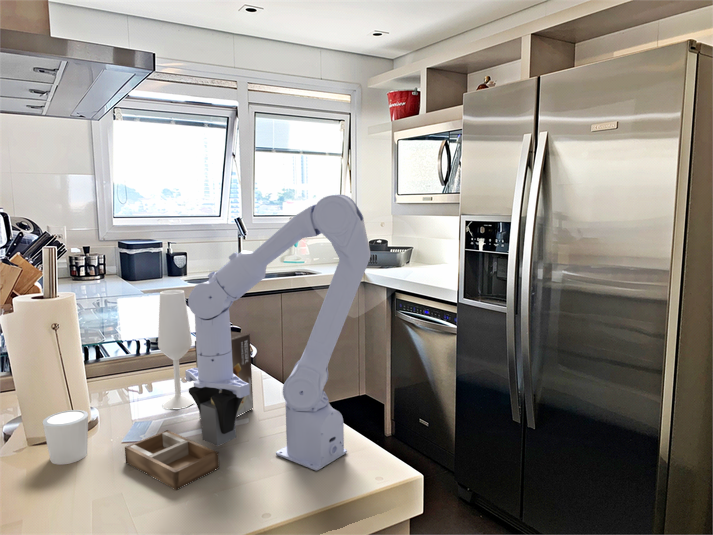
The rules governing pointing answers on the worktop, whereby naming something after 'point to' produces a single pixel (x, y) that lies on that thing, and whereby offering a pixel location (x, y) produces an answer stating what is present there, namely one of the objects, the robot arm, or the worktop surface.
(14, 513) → the worktop surface
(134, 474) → the worktop surface
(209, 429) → the plug
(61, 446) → the white cup
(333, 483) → the worktop surface
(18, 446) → the worktop surface
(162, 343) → the champagne flute
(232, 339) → the coffee box
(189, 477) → the walnut box
